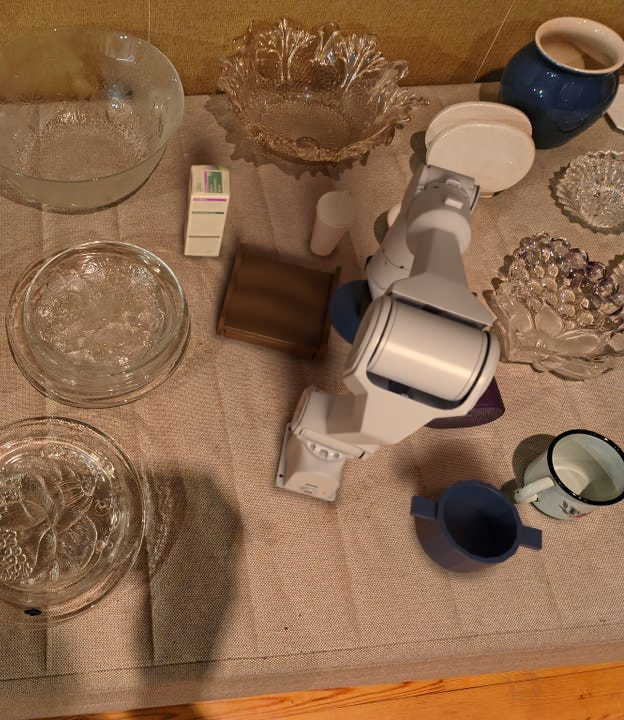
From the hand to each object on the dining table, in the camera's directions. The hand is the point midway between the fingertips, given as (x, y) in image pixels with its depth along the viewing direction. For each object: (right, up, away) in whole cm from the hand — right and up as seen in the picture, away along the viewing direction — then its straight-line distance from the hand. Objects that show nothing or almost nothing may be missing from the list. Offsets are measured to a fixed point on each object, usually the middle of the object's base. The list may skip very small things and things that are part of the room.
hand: (367, 310), depth 90 cm
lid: (0, -1, +1) cm, 1 cm away
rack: (-10, +1, +12) cm, 16 cm away
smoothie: (-2, +12, +18) cm, 21 cm away
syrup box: (-21, +12, +17) cm, 30 cm away
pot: (+10, -29, -3) cm, 31 cm away
